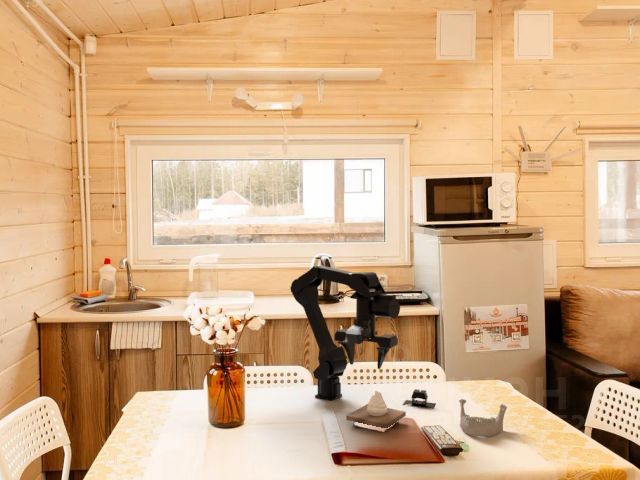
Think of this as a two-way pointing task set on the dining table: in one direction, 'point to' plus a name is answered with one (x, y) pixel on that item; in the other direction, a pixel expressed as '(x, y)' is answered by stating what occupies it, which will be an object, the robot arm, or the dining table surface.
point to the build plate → (419, 403)
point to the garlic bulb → (377, 405)
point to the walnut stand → (376, 417)
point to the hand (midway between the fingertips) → (365, 366)
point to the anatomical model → (482, 423)
